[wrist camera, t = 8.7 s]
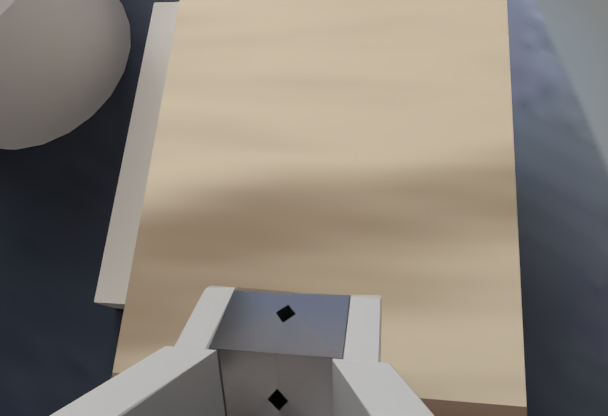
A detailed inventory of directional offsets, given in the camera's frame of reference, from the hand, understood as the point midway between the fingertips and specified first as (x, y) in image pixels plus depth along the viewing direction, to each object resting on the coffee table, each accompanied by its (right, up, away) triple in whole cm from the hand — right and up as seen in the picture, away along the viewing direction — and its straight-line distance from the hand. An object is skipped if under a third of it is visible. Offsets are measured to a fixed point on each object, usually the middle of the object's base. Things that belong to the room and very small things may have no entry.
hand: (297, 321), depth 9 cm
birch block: (+1, -3, +4) cm, 5 cm away
